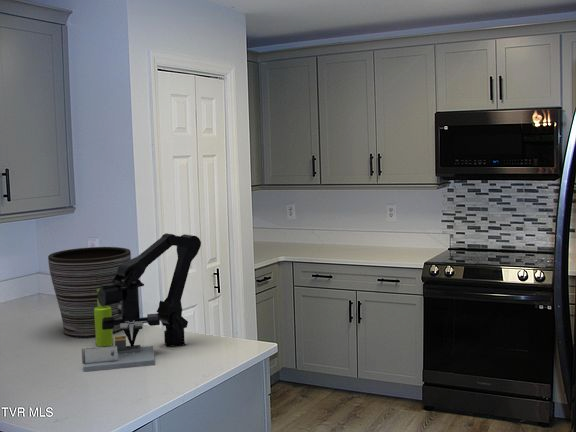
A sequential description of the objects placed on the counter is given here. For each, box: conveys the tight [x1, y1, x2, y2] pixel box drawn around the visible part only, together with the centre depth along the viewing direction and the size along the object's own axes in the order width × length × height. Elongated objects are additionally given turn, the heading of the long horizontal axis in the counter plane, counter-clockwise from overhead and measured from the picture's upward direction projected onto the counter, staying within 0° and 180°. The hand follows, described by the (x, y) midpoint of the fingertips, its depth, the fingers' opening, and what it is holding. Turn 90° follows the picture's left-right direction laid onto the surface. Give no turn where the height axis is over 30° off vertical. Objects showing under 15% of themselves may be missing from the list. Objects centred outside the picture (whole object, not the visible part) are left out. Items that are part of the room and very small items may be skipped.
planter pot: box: [47, 246, 132, 339], centre depth 256 cm, size 30×30×30 cm
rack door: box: [85, 345, 118, 363], centre depth 213 cm, size 10×2×4 cm, turn 103°
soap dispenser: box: [94, 289, 114, 347], centre depth 237 cm, size 6×7×20 cm
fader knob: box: [114, 335, 127, 351], centre depth 224 cm, size 4×3×4 cm
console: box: [81, 344, 156, 372], centre depth 219 cm, size 22×16×6 cm
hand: (132, 346), depth 225 cm, fingers closed
